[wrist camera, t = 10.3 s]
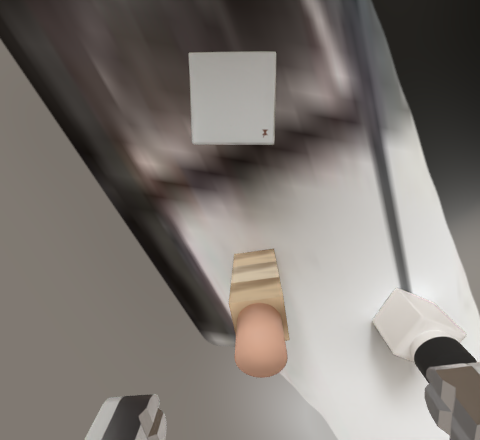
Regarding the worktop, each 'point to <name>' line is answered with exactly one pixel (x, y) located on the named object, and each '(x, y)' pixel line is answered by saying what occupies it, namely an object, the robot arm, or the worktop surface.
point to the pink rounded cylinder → (260, 341)
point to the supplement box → (233, 97)
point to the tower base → (254, 257)
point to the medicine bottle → (420, 332)
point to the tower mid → (254, 272)
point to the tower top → (257, 298)
